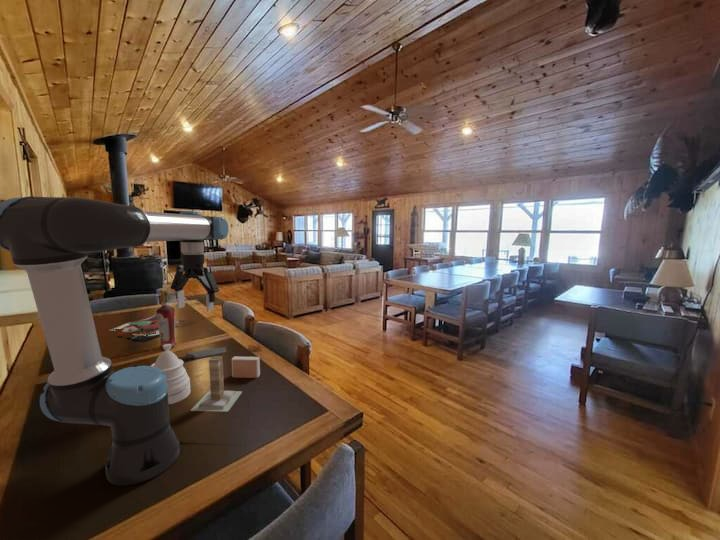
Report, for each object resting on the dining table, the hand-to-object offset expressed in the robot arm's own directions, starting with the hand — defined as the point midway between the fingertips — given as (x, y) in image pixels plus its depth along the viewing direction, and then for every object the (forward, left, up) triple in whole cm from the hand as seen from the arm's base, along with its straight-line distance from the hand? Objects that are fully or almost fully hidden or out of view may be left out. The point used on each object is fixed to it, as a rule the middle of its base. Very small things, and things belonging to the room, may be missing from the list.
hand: (195, 309), depth 118 cm
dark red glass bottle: (+26, +29, -27) cm, 48 cm away
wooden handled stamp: (-18, -16, -26) cm, 36 cm away
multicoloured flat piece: (+54, +56, -28) cm, 83 cm away
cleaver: (+17, +12, -28) cm, 35 cm away
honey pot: (-16, +2, -27) cm, 31 cm away
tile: (-1, -19, -27) cm, 33 cm away
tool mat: (-18, -16, -27) cm, 36 cm away
